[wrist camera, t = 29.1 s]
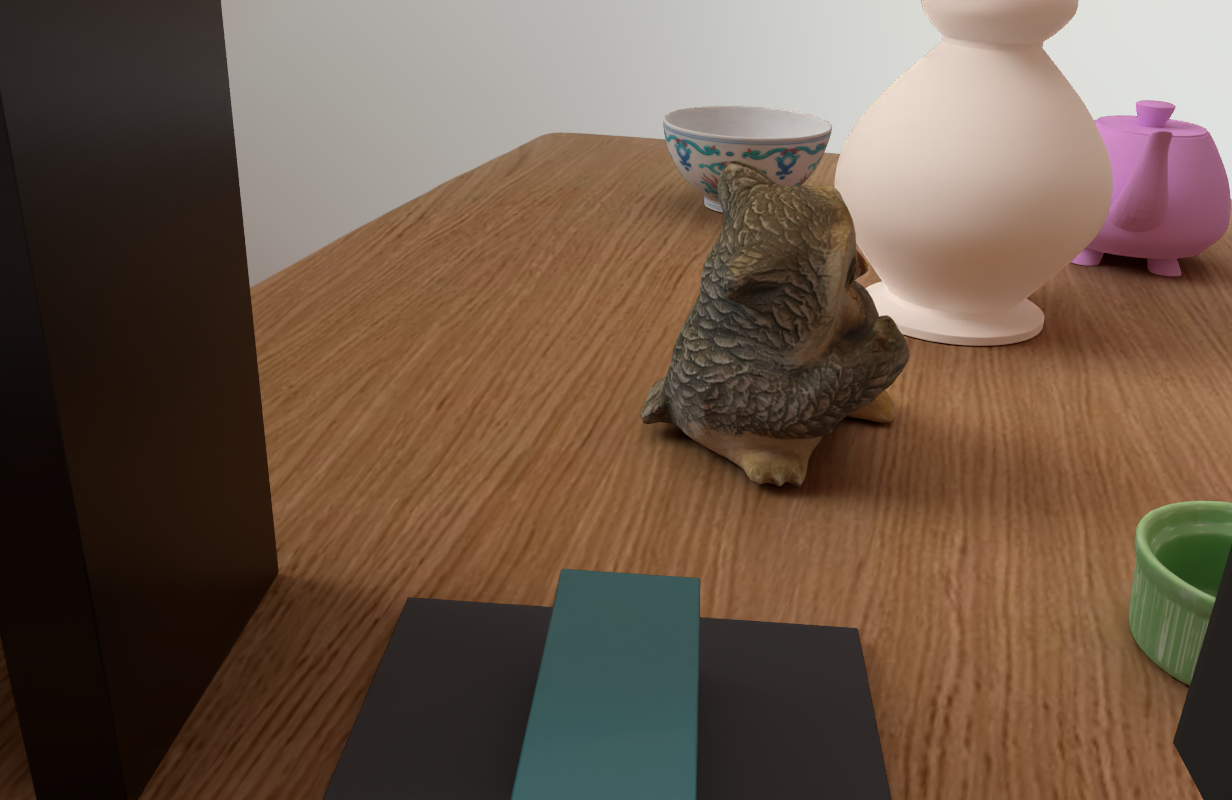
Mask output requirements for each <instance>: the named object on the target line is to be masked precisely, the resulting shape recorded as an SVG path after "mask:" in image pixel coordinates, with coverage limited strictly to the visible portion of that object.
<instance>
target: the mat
mask: <svg viewBox="0 0 1232 800" xmlns="http://www.w3.org/2000/svg"><path fill="white" fill-rule="evenodd" d="M552 609H553V607H542V606H527V605H513V604H498V603H484V602H469V601H455V600H440V599H426V598H411V597H409V598H407V600H406V603H405V605H404V608H403V610H402V612H401V615H400V617H399V619H398V622H397V624H396V626H395V629H394V631H393V634H392V636H391V638H390V641H389V643H388V645H387V648H386V650H385V653H384V655H383V657H382V660H381V662H380V664H379V667H378V669H377V672H376V674H375V676H374V679H373V681H372V683H371V686H370V688H369V691H368V693H367V695H366V698H365V700H364V702H363V705H362V707H361V710H360V712H359V714H358V717H357V719H356V721H355V724H354V726H353V729H352V731H351V733H350V736H349V738H348V740H347V743H346V745H345V748H344V750H343V752H342V755H341V757H340V759H339V762H338V764H337V767H336V769H335V771H334V774H333V776H332V778H331V781H330V783H329V785H328V788H327V790H326V793H325V795H324V797H323V800H511V796H512V791H513V787H514V782H515V778H516V773H517V769H518V764H519V759H520V755H521V750H522V746H523V741H524V737H525V732H526V728H527V723H528V718H529V714H530V709H531V705H532V700H533V696H534V691H535V686H536V682H537V677H538V673H539V668H540V664H541V659H542V655H543V650H544V645H545V641H546V636H547V632H548V627H549V623H550V618H551V614H552ZM696 800H891V795H890V790H889V785H888V780H887V775H886V770H885V765H884V760H883V754H882V749H881V744H880V739H879V734H878V729H877V724H876V719H875V714H874V709H873V704H872V699H871V693H870V688H869V683H868V678H867V673H866V668H865V663H864V658H863V653H862V648H861V643H860V637H859V632H858V629H857V628H847V627H832V626H818V625H803V624H788V623H774V622H759V621H745V620H730V619H716V618H701V617H700V626H699V683H698V740H697V797H696Z"/></svg>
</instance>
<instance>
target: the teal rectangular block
mask: <svg viewBox="0 0 1232 800" xmlns="http://www.w3.org/2000/svg"><path fill="white" fill-rule="evenodd" d="M699 626H700V579H699V578H688V577H674V576H659V575H644V574H630V573H615V572H600V571H585V570H571V569H562V570H561V573H560V577H559V582H558V586H557V591H556V595H555V600H554V604H553V609H552V614H551V618H550V623H549V627H548V632H547V636H546V641H545V645H544V650H543V655H542V659H541V664H540V668H539V673H538V677H537V682H536V686H535V691H534V696H533V700H532V705H531V709H530V714H529V718H528V723H527V728H526V732H525V737H524V741H523V746H522V750H521V755H520V759H519V764H518V769H517V773H516V778H515V782H514V787H513V791H512V796H511V800H696V797H697V740H698V683H699Z"/></svg>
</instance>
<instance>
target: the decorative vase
mask: <svg viewBox="0 0 1232 800" xmlns="http://www.w3.org/2000/svg"><path fill="white" fill-rule="evenodd" d="M921 3H922V7H923V10H924V12H925V14H926V15H927V17H928V19H929V20H930V21H931V23H932V24H933V25H934V27H935V28H936V29H937V30H938V31H939V32H941V34H943V38H942V42H941V43H939V44H938V45H937V46H936V47H934V48H933V49H932V50H931V51H930V52H928V53H927V54H926V55H925V56H924V57H922V58H921V59H920V60H919V61H917V62H916V63H915V64H914V65H913V66H912V67H910V68H909V69H908V70H907V71H906V72H905V73H903V74H902V75H901V76H900V77H899V78H898V79H897V80H895V81H894V82H893V83H892V84H891V85H890V86H889V87H888V88H887V89H886V90H885V91H884V92H883V93H882V94H881V95H880V96H879V97H878V98H877V99H876V101H875V102H874V103H873V104H872V105H871V106H870V108H869V109H868V110H867V111H866V112H865V114H864V115H863V116H862V118H861V119H860V120H859V121H858V123H857V124H856V125H855V127H854V128H853V130H852V131H851V133H850V135H849V136H848V138H847V140H846V142H845V144H844V146H843V148H842V151H841V154H840V157H839V160H838V164H837V169H836V175H835V188H836V189H837V190H838V191H839V193H840V194H841V196H842V199H843V200H844V202H845V204H846V206H847V208H848V210H849V212H850V215H851V217H852V219H853V223H854V228H855V233H856V242H857V244H858V246H859V247H860V249H861V250H862V252H863V253H864V255H865V256H866V258H867V259H868V261H869V262H870V264H871V265H872V267H873V268H874V270H875V271H876V273H877V274H878V276H879V277H880V278H881V280H882V281H881V282H878V283H875V284H872V285H870V286H868V287H867V288H865V289H866V290H867V291H868V293H869V294H870V296H871V297H872V299H873V301H874V304H875V306H876V309H877V311H878V314H879V317H880V316H885V315H887V316H890V317H891V318H892V319H893V320H894V322H895V323H896V325H897V328H898V329H899V330H900V332H901V333H902V334H904V335H907V336H911V337H915V338H919V339H923V340H928V341H934V342H940V343H947V344H957V345H972V346H991V345H1005V344H1012V343H1017V342H1021V341H1025V340H1028V339H1030V338H1032V337H1034V336H1036V335H1037V334H1039V333H1040V332H1041V330H1042V328H1043V324H1044V314H1043V312H1042V310H1041V309H1040V308H1039V307H1038V306H1037V305H1035V304H1034V303H1033V302H1031V301H1029V300H1028V299H1026V298H1027V297H1029V296H1030V295H1031V294H1033V293H1034V292H1035V291H1036V290H1038V289H1039V288H1040V287H1041V286H1042V285H1044V284H1045V283H1046V282H1047V281H1049V280H1050V279H1051V278H1052V277H1053V276H1055V275H1056V274H1057V273H1058V272H1060V271H1061V270H1062V269H1063V268H1064V267H1065V266H1067V265H1068V264H1069V263H1070V262H1071V261H1072V260H1073V259H1074V258H1076V257H1077V256H1078V255H1079V254H1080V253H1081V252H1082V251H1083V250H1084V249H1085V248H1086V247H1087V246H1088V245H1089V244H1090V243H1091V242H1092V241H1093V239H1094V238H1095V237H1096V236H1097V234H1098V233H1099V231H1100V230H1101V228H1102V227H1103V225H1104V223H1105V220H1106V218H1107V215H1108V212H1109V208H1110V204H1111V198H1112V188H1113V178H1112V168H1111V163H1110V159H1109V155H1108V152H1107V149H1106V147H1105V144H1104V142H1103V139H1102V137H1101V135H1100V132H1099V130H1098V128H1097V126H1096V124H1095V122H1094V120H1093V118H1092V117H1091V115H1090V113H1089V111H1088V110H1087V108H1086V106H1085V105H1084V103H1083V102H1082V100H1081V99H1080V97H1079V96H1078V94H1077V93H1076V91H1075V90H1074V89H1073V87H1072V86H1071V84H1070V83H1069V82H1068V80H1067V79H1066V78H1065V77H1064V75H1063V74H1062V73H1061V71H1060V70H1059V69H1058V68H1057V66H1056V65H1055V64H1054V62H1053V61H1052V60H1051V59H1050V57H1049V56H1048V55H1047V54H1046V52H1045V51H1044V50H1043V48H1042V46H1043V41H1045V40H1047V39H1048V38H1050V37H1052V36H1053V35H1054V34H1056V33H1057V32H1058V31H1059V30H1060V29H1062V28H1063V27H1064V26H1065V25H1066V24H1067V23H1068V22H1069V21H1070V20H1071V19H1072V17H1073V16H1074V15H1075V13H1076V10H1077V7H1078V0H921Z"/></svg>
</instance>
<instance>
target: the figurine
mask: <svg viewBox="0 0 1232 800" xmlns="http://www.w3.org/2000/svg"><path fill="white" fill-rule="evenodd" d="M717 188H718V198H719V201H720V204H721V207H722V210H723V214H724V225H723V229H722V231H721V233H720V235H719V237H718V239H717V241H716V243H715V244H714V246H713V248H712V250H711V251H710V253H709V255H708V257H707V259H706V261H705V263H704V266H703V271H702V277H701V285H700V294H699V296H698V298H697V300H696V303H695V305H694V306H693V308H692V310H691V312H690V313H689V315H688V317H687V319H686V321H685V323H684V325H683V327H682V330H681V332H680V334H679V336H678V339H677V341H676V344H675V347H674V350H673V354H672V359H671V364H670V367H669V370H668V372H667V374H666V376H665V377H664V378H662V379H660V380H659V381H657V382H656V383H655V384H654V385H653V386H652V388H651V389H650V391H649V393H648V396H647V400H646V402H645V404H644V406H643V409H642V412H641V419H642V420H643V423H645V424H651V423H656V422H667V423H672V424H675V425H677V426H678V427H679V428H680V429H681V430H682V431H683V432H684V433H685V434H686V435H688V436H689V437H690V438H691V439H693V440H694V441H696V442H698V443H700V444H701V445H703V446H704V447H706V448H708V449H710V450H712V451H714V452H716V453H718V454H720V455H721V456H723V457H725V458H727V459H728V460H730V461H732V462H734V463H735V464H737V465H738V466H739V467H741V468H742V469H743V470H744V472H745V473H746V475H747V477H748V478H749V479H750V480H751V481H753V482H754V483H756V484H758V485H759V484H763V483H771V484H774V485H777V486H779V487H780V486H781V485H782V484H784V483H785V482H789V483H792V484H794V485H797V486H800V485H801V484H802V482H803V481H804V479H805V477H806V471H807V465H808V459H809V457H810V455H811V453H812V451H813V450H814V448H815V447H816V446H817V444H818V443H819V441H820V440H821V439H822V437H823V436H825V435H828V434H830V433H831V432H833V430H834V428H835V427H836V425H837V424H838V423H839V422H840V421H841V420H842V419H843V418H845V417H846V416H848V417H853V418H859V419H865V420H870V421H875V422H881V423H888V422H891V421H893V418H894V402H893V400H892V399H891V397H890V396H889V394H888V393H887V392H886V391H885V389H887V388H888V387H889V386H890V385H891V384H892V383H893V382H894V381H895V379H896V378H897V377H898V376H899V374H900V373H901V372H902V370H903V369H904V367H905V365H906V363H907V361H908V358H909V349H908V345H907V341H906V340H905V338H904V336H903V335H902V333H901V332H900V330H899V329H898V328H897V325H896V323H895V322H894V320H893V319H892V318H891V317H890V316H887V315H885V316H880V317H879V314H878V311H877V309H876V306H875V304H874V301H873V299H872V297H871V296H870V294H869V293H868V291H867V290H866V289H865V288H864V287H863V286H862V285H861V284H859V283H858V282H856V281H854V280H855V279H857V278H858V277H860V276H862V275H863V274H865V273H866V272H867V271H868V264H867V263H866V261H865V259H864V258H863V256H862V255H861V254H860V253H859V252H858V251H857V250H856V233H855V228H854V223H853V219H852V217H851V215H850V212H849V210H848V208H847V206H846V204H845V202H844V200H843V199H842V196H841V194H840V193H839V191H838V190H837V189H836V188H835V187H833V186H830V185H824V186H819V187H811V186H789V187H785V186H782V185H778V184H776V183H775V182H774V181H772V180H771V179H770V178H769V177H767V176H766V175H765V174H764V173H763V172H762V171H760V170H759V169H758V168H757V167H755V166H752V165H750V164H748V163H745V162H743V161H737V160H736V161H730V162H728V163H726V164H725V165H724V167H723V170H722V172H721V174H720V177H719V180H718V185H717Z"/></svg>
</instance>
